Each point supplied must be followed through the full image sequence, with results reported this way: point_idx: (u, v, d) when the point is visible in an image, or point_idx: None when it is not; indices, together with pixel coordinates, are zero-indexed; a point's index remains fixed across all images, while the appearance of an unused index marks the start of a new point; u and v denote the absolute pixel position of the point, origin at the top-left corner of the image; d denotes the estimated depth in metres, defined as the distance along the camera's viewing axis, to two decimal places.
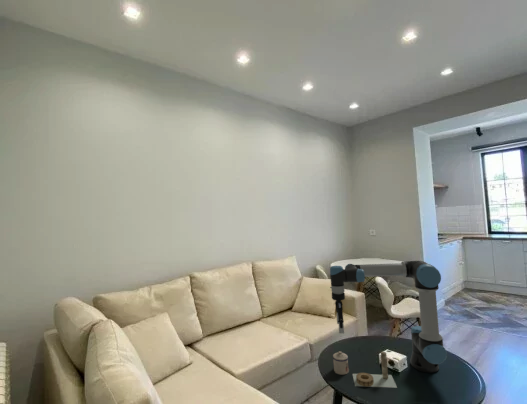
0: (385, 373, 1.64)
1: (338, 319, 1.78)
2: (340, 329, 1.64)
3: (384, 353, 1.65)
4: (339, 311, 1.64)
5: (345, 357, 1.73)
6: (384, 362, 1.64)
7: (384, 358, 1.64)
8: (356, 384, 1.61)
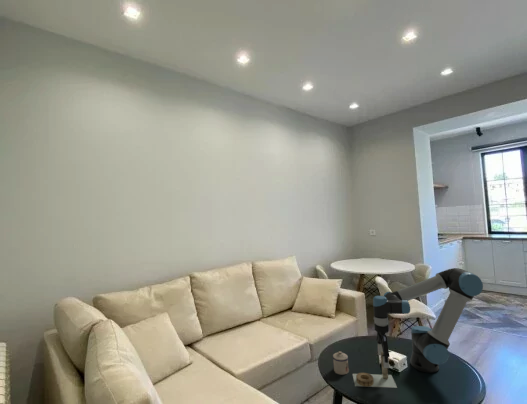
0: (385, 373, 1.64)
1: (379, 350, 1.72)
2: (385, 363, 1.59)
3: None
4: (384, 345, 1.59)
5: (345, 357, 1.73)
6: None
7: None
8: (356, 384, 1.61)
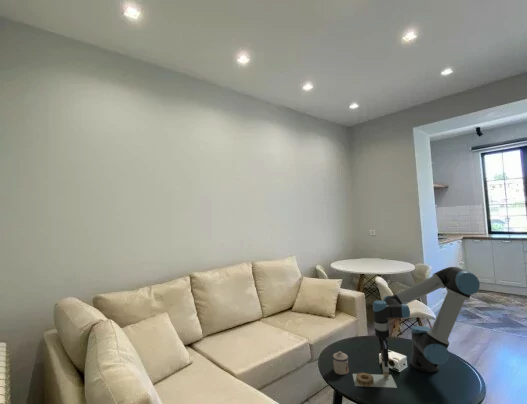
0: None
1: None
2: (385, 368, 1.64)
3: None
4: (385, 352, 1.61)
5: (345, 357, 1.73)
6: None
7: None
8: (356, 384, 1.61)
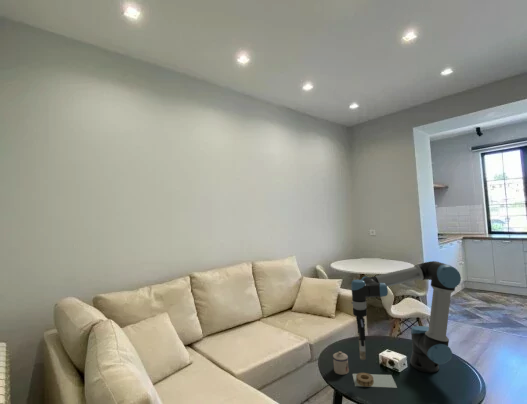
0: (362, 354, 1.62)
1: None
2: (361, 347, 1.62)
3: None
4: (361, 330, 1.59)
5: (345, 357, 1.73)
6: None
7: None
8: (356, 384, 1.61)
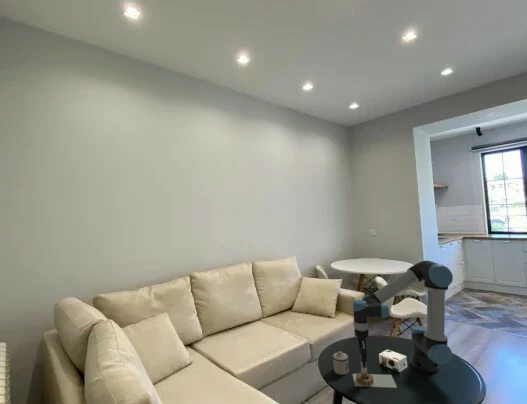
0: (364, 375, 1.62)
1: None
2: (363, 368, 1.61)
3: None
4: (363, 352, 1.58)
5: (345, 357, 1.73)
6: None
7: None
8: (356, 384, 1.61)
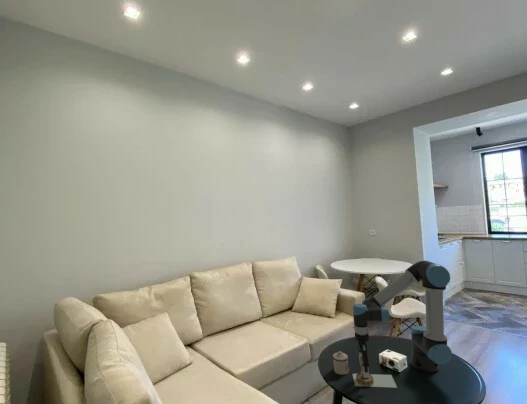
0: None
1: None
2: (365, 373, 1.56)
3: None
4: (364, 354, 1.56)
5: (345, 357, 1.73)
6: None
7: None
8: (356, 384, 1.61)
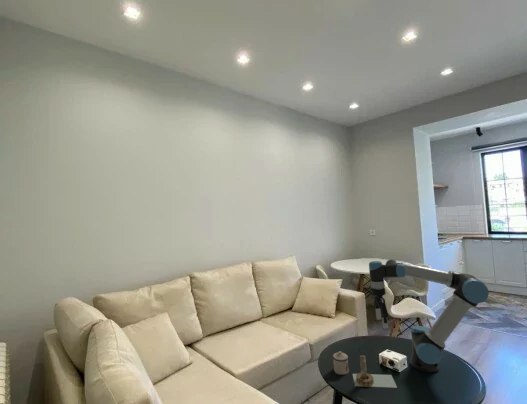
0: (364, 377, 1.62)
1: (378, 315, 1.78)
2: (384, 324, 1.64)
3: (363, 357, 1.63)
4: (382, 306, 1.64)
5: (345, 357, 1.73)
6: (363, 366, 1.62)
7: (363, 362, 1.62)
8: (356, 384, 1.61)
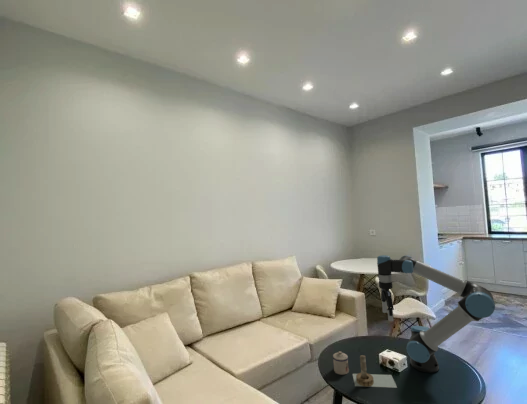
0: (364, 377, 1.62)
1: (384, 308, 1.81)
2: (389, 317, 1.68)
3: (363, 357, 1.63)
4: (389, 299, 1.68)
5: (345, 357, 1.73)
6: (363, 366, 1.62)
7: (363, 362, 1.62)
8: (356, 384, 1.61)
